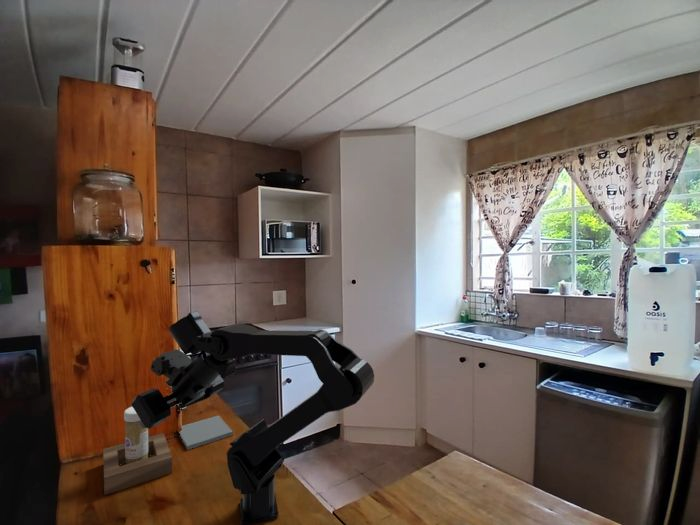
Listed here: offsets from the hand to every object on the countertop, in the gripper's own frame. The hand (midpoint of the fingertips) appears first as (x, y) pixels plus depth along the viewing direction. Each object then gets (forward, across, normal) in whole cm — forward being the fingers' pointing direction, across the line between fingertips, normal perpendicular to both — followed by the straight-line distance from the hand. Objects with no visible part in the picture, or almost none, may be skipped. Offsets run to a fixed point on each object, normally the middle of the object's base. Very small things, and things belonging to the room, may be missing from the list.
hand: (162, 415), depth 74 cm
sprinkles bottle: (+15, 0, +4) cm, 15 cm away
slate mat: (+13, -17, +6) cm, 22 cm away
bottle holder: (+15, 0, +4) cm, 15 cm away
